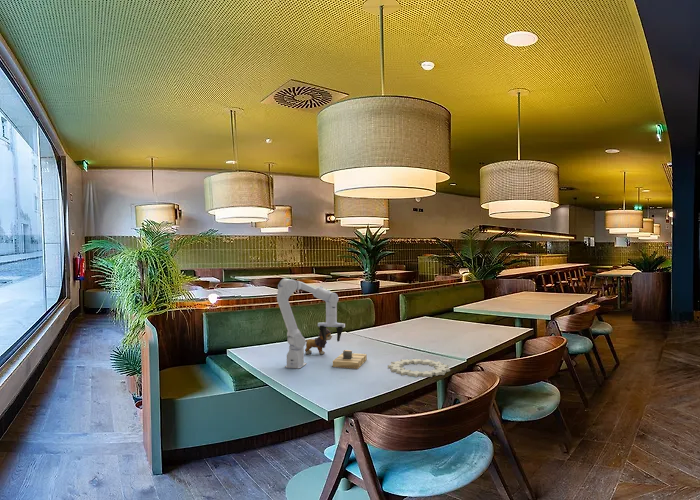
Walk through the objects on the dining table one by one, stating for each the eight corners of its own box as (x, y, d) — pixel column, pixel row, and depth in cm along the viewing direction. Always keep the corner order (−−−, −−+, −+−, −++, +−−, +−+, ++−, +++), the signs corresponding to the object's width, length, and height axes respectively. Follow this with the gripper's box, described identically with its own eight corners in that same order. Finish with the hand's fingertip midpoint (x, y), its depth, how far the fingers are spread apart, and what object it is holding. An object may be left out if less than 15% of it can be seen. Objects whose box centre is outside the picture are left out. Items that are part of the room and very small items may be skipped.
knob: (353, 363, 228) (353, 349, 228) (350, 365, 224) (350, 351, 224) (344, 362, 230) (344, 349, 230) (341, 364, 225) (341, 351, 225)
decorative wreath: (448, 362, 229) (390, 360, 234) (448, 359, 229) (390, 357, 234) (451, 379, 200) (384, 376, 205) (451, 376, 200) (384, 373, 205)
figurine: (331, 356, 243) (331, 328, 243) (294, 354, 248) (293, 327, 247) (334, 353, 250) (334, 326, 250) (298, 351, 254) (297, 325, 254)
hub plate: (357, 368, 217) (357, 362, 217) (332, 367, 221) (332, 360, 221) (366, 359, 235) (366, 353, 234) (343, 358, 238) (343, 352, 238)
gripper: (346, 314, 235) (346, 339, 235) (320, 313, 239) (320, 338, 239) (342, 316, 228) (343, 342, 229) (316, 315, 232) (316, 341, 232)
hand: (331, 340), depth 233 cm, fingers open, 7 cm apart
